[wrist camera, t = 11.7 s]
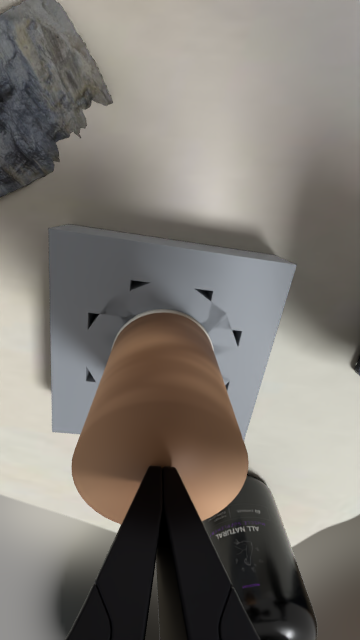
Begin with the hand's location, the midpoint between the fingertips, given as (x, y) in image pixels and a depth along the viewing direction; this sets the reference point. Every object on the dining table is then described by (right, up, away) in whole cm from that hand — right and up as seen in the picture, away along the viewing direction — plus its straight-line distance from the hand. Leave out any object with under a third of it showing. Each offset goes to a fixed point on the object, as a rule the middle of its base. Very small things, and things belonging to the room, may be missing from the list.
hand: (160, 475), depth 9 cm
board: (0, +4, +10) cm, 10 cm away
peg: (0, +4, +9) cm, 10 cm away
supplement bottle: (+5, -11, +16) cm, 20 cm away
